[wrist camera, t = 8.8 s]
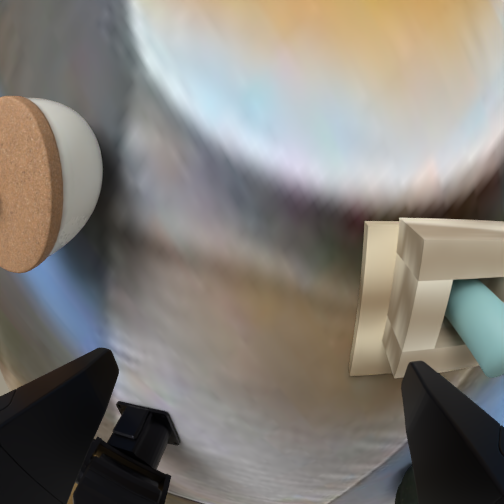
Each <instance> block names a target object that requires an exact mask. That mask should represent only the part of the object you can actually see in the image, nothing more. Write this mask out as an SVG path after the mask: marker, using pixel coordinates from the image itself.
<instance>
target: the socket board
mask: <svg viewBox="0 0 504 504" xmlns="http://www.w3.org/2000/svg"><path fill="white" fill-rule="evenodd" d="M475 278H477V279H479V280H480V281H481V282H482V283H483V284H484V285H485V286H486V287H487V288H488V289H490V290H491V291H492V292H493V293H494V294H495V295H496V296H497V297H498V298H499V299H500V300H501V301H502V302H503V303H504V222H502V221H483V220H460V219H430V218H399V221H365V223H364V242H363V256H362V268H361V279H360V289H359V298H358V307H357V315H356V322H355V329H354V336H353V343H352V349H351V355H350V361H349V367H348V369H349V375H350V376H360V375H376V374H388V373H393V376H394V378H403V377H404V375H405V372H406V369H407V366H408V364H409V362H411V361H420V360H421V361H424V362H425V363H426V364H428V365H429V366H430V367H431V368H433V369H434V370H435V371H436V372H438V373H441V372H447V371H453V370H459V369H464V368H470V367H475V366H479V364H478V362H477V361H476V359H475V358H474V356H473V354H472V353H471V351H470V350H469V349H468V347H467V346H466V344H465V343H464V341H463V340H462V338H461V337H460V335H459V334H458V333H457V331H456V330H455V328H454V327H453V326H452V324H451V323H450V321H449V320H448V319H447V317H446V316H445V311H446V307H447V304H448V300H449V295H450V291H451V287H452V283H453V280H456V279H475Z"/></svg>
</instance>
